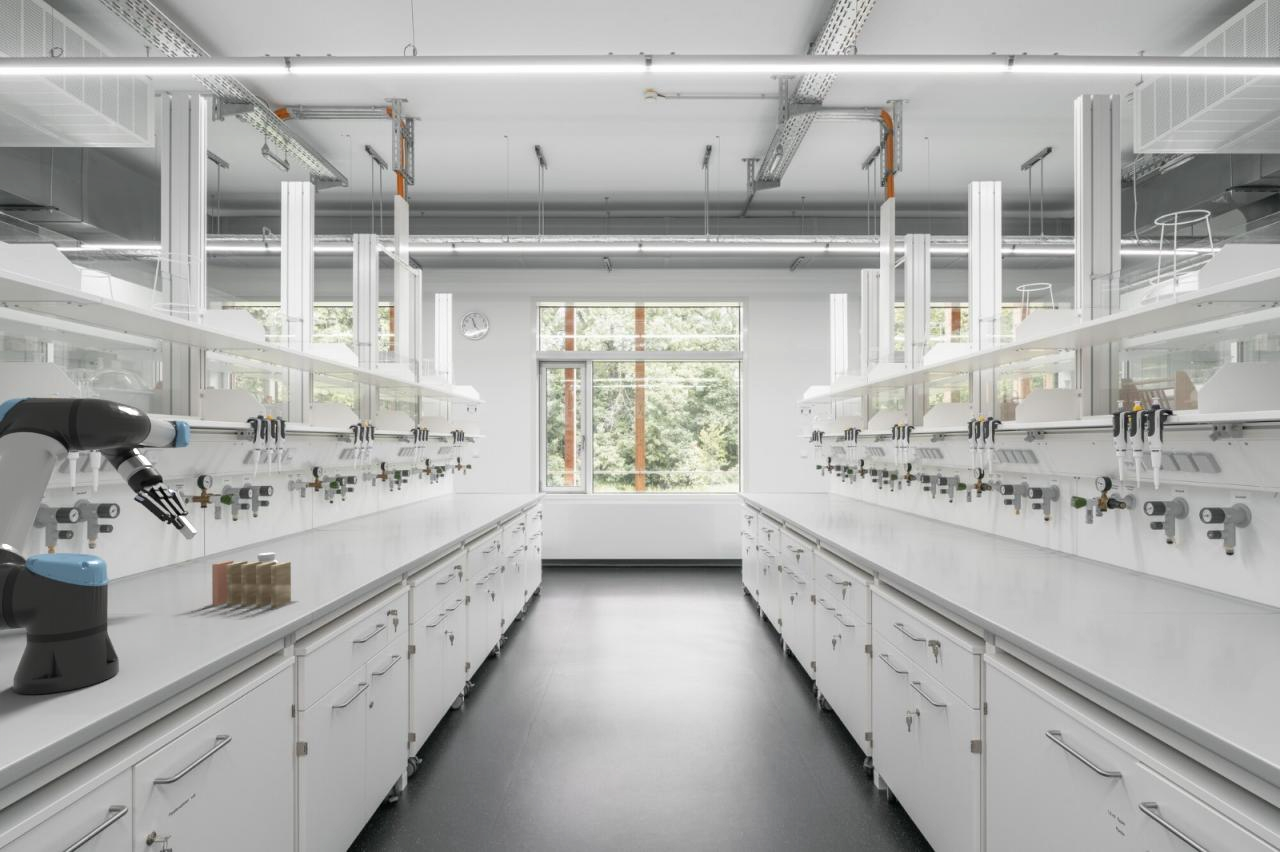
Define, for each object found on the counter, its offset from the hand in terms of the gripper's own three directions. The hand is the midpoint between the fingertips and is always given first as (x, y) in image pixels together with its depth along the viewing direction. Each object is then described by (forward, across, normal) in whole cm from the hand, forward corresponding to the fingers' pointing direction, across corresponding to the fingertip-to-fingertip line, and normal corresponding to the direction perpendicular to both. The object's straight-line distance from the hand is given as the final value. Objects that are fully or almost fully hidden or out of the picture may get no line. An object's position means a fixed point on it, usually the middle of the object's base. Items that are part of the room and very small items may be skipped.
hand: (192, 535), depth 190 cm
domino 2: (+23, 0, -2) cm, 23 cm away
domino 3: (+26, 0, +1) cm, 26 cm away
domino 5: (+33, 0, +7) cm, 33 cm away
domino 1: (+20, 0, -6) cm, 21 cm away
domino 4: (+29, 0, +4) cm, 30 cm away
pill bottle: (+21, -16, -6) cm, 27 cm away
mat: (+26, 0, 0) cm, 26 cm away
